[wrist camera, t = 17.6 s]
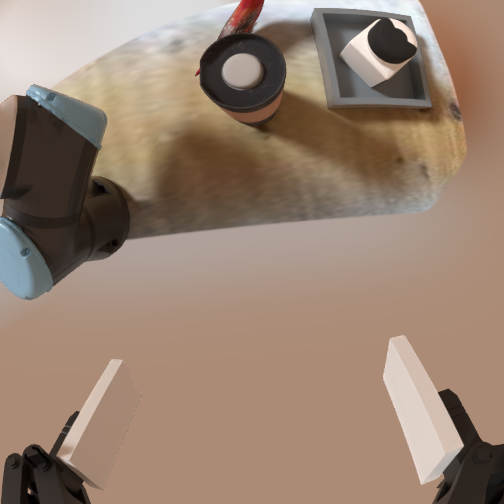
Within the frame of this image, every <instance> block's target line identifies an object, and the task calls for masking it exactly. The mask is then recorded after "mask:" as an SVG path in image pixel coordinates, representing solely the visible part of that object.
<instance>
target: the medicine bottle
mask: <svg viewBox="0 0 504 504" xmlns="http://www.w3.org/2000/svg"><path fill="white" fill-rule="evenodd" d="M416 52H417V41H416V38H415V36H414V34H413V32H412V31H411V30H410V29H409V28H408V27H407V26H406V25H405V24H403V23H402V22H400V21H398V20H395V19H391V18H384V19H378V20H376V21H375V22H374V23H372V24H371V25H370V26H369V27H367V28H366V29H365V30H363V31H362V32H361V33H360V34H358V35H357V36H356V37H355V38H353V39H352V40H351V41H350V42H349V43H348V44H347V46H346V47H345V48H344V49H343V51H342V52H341V53H340V54H339V57H340V58H341V59H342V60H343V61H344V62H345V63H346V64H347V65H348V66H349V67H350V68H351V69H352V70H353V71H354V72H355V73H356V74H357V75H358V76H359V77H360V78H361V79H362V80H363V81H364V82H365V83H366V84H367V85H368V86H369V87H370V88H373V87H375V86H377V85H379V84H381V83H383V82H385V81H387V80H388V79H390V78H391V77H392V76H393V75H394V74H395V73H396V72H397V71H398V70H400V69H401V68H402V67H403V66H404V65H405V64H406V63H407V62H408V61H409V60H411V59H412V58H413V57H414V56H415V54H416Z"/></svg>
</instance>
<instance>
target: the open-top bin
mask: <svg viewBox="0 0 504 504" xmlns="http://www.w3.org/2000/svg"><path fill="white" fill-rule="evenodd" d="M384 18H391V19H395V20H398V21H400V22H402V23H403V24H405V25H406V26H407V27H408V28H409V29H410V30H411V31H412V32H413V34H414V36H415V38H416V41H417V52H416V54H415V56H414V57H413V58H412V59H411V60H409V61H408V62H407V63H406V64H405V65H404V66H403V67H402V68H401V69H400V70H398V71H397V72H396V73H395V74H394V75H393V76H392V77H391V78H390V79H388V80H387V81H385V82H383V83H381V84H379V85H377V86H375V87H373V88H370V87H369V86H368V85H367V84H366V83H365V82H364V81H363V80H362V79H361V78H360V77H359V76H358V75H357V74H356V73H355V72H354V71H353V70H352V69H351V68H350V67H349V66H348V65H347V64H346V63H345V62H344V61H343V60H342V59H341V58H340V57H339V54H340V53H341V52H342V51H343V49H344V48H345V47H346V46H347V44H348V43H349V42H350V41H351V40H352V39H353V38H355V37H356V36H357V35H358V34H360V33H361V32H362V31H363V30H365V29H366V28H367V27H369V26H370V25H371V24H372V23H374V22H375V21H376V20H378V19H384ZM310 20H311V25H312V29H313V33H314V37H315V42H316V46H317V51H318V56H319V60H320V65H321V71H322V76H323V81H324V87H325V93H326V99H327V105H328V109H339V108H403V109H423V108H428V107H432V104H431V98H430V92H429V87H428V81H427V76H426V72H425V67H424V63H423V58H422V54H421V50H420V46H419V43H418V39H417V35H416V32H415V29H414V25H413V22H412V19H411V16H406V15H400V14H394V13H386V12H378V11H369V10H357V9H339V8H314V10H313V13H312V16H311V19H310Z"/></svg>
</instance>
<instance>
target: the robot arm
mask: <svg viewBox="0 0 504 504" xmlns="http://www.w3.org/2000/svg"><path fill="white" fill-rule="evenodd" d="M106 126H107V117H106V114H105V113H104V112H103V111H102V110H101V109H99V108H97V107H94V106H92V105H90V104H87V103H85V102H82V101H80V100H77V99H75V98H72V97H69V96H67V95H64V94H61V93H59V92H56V91H53V90H50V89H47V88H44V87H41V86H37V85H31V86H30V88H29V90H27V92H26V96H19V95H11V96H10V97H9V98H7V99H6V100H5V101H4V102H2V103H1V104H0V199H4V205H3V213H2V216H0V280H1V282H2V283H3V284H4V286H5V287H6V288H7V289H8V290H9V291H11V292H12V293H13V294H14V295H16V296H17V297H19V298H22V299H25V300H32V299H35V298H38V297H39V296H40V295H42V294H43V293H45V292H49V291H50V290H51V288H52V287H53V286H55V285H56V284H57V283H58V282H59V281H61V280H62V279H63V278H64V277H66V276H67V275H68V274H70V273H71V272H72V271H74V270H75V269H76V268H77V267H79V266H80V265H81V264H83V263H84V262H87V261H95V260H101V259H104V258H107V257H109V256H111V255H112V254H113V253H114V252H116V251H117V250H118V249H119V248H120V247H121V246H122V245H123V243H124V242H125V240H126V237H127V234H128V230H129V212H128V207H127V204H126V201H125V199H124V197H123V195H122V194H121V192H120V191H119V189H118V188H117V187H116V186H115V185H114V184H113V183H112V182H110V181H109V180H107V179H105V178H103V177H99V176H91V175H92V172H93V168H94V165H95V162H96V158H97V155H98V152H99V150H101V148H102V146H101V142H102V139H103V136H104V133H105V129H106ZM383 379H384V382H385V384H386V387H387V390H388V392H389V394H390V397H391V399H392V402H393V405H394V407H395V410H396V413H397V415H398V418H399V421H400V423H401V426H402V429H403V432H404V434H405V437H406V440H407V443H408V446H409V449H410V451H411V454H412V457H413V460H414V463H415V466H416V470H417V473H418V476H419V479H420V482H421V484H424V483H427V482H429V481H432V480H435V479H437V478H438V477H439V476H440V475H441V474H442V473H443V474H444V477H445V478H444V480H443V481H442V482H441V483H440V484H439V485H438V487H437V488H440V489H439V491H438V493H437V496H436V497H435V500H434V501H433V503H432V504H504V444H501V445H493V446H492V445H491V444H489V443H487V442H483V441H482V440H481V439H480V437H479V435H478V433H477V431H476V429H475V427H474V425H473V424H472V422H471V420H470V418H469V416H468V414H467V413H466V411H465V409H464V407H463V406H462V403H461V402H460V400H459V398H458V396H457V395H456V394H455V393H453V392H452V391H451V390H450V389H446V390H443V391H440V392H437V391H436V389H435V387H434V385H433V384H432V382H431V380H430V378H429V376H428V374H427V373H426V371H425V369H424V367H423V366H422V364H421V362H420V360H419V359H418V357H417V355H416V353H415V352H414V350H413V349H412V347H411V345H410V343H409V342H408V340H407V338H406V337H405V335H402V336H398V337H393V338H390V342H389V348H388V354H387V359H386V365H385V370H384V375H383ZM141 396H142V394H141V393H140V391H139V389H138V387H137V385H136V383H135V382H134V380H133V378H132V376H131V374H130V372H129V370H128V368H127V367H126V364H125V363H124V360H116V359H115V360H114V359H112V360H111V361H110V363H109V364H108V366H107V368H106V369H105V371H104V373H103V374H102V376H101V378H100V379H99V381H98V383H97V384H96V386H95V387H94V389H93V391H92V393H91V394H90V396H89V398H88V399H87V401H86V403H85V405H84V406H83V408H82V410H81V411H80V412H78V411H76V412H75V413H74V414H73V415H72V416H71V417H70V418H69V419H68V421H67V423H66V425H65V427H64V428H63V430H62V433H60V435H59V437H58V439H57V441H56V442H55V444H54V446H53V448H52V450H51V452H50V453H49V455H48V454H47V453H46V452H45V451H44V450H43V449H42V448H41V447H40V446H39V445H36V444H33V445H30V446H28V447H27V448H26V449H25V450H24V452H23V455H22V456H21V455H19V454H17V453H13V454H11V455H9V456H8V458H7V459H6V462H5V467H4V476H3V484H2V497H1V504H91V503H90V501H89V498H88V495H87V493H86V490H85V488H84V486H83V485H82V483H83V481H85V482H86V483H87V484H88V485H90V486H91V487H94V488H97V489H100V490H104V487H105V485H106V482H107V480H108V477H109V474H110V472H111V469H112V467H113V464H114V462H115V459H116V457H117V454H118V452H119V449H120V446H121V444H122V442H123V439H124V437H125V434H126V432H127V429H128V427H129V424H130V422H131V420H132V418H133V415H134V413H135V411H136V408H137V406H138V404H139V401H140V399H141ZM28 488H29V489H30V490H31V494H29V493H27V492H28Z"/></svg>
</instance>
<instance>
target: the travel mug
mask: <svg viewBox="0 0 504 504" xmlns="http://www.w3.org/2000/svg"><path fill="white" fill-rule="evenodd" d="M285 78H286V63H285V59H284V57H283V55H282V53H281V51H280V50H279V48H278V47H277V46H276V45H275V44H274V43H273V42H271V41H270V40H268V39H267V38H265V37H263V36H260V35H257V34H253V33H235V34H230V35H227V36H224V37H222V38H220V39H219V40H217V41H215V42H214V43H213V44H212V45H211V46H210V47H209V48H208V49H207V50H206V51H205V52H204V54H203V55H202V57H201V59H200V86H201V88H202V90H203V91H204V92H205V94H206V95H207V96H208V97H209V98H210V99H211V100H212V101H213V102H214V103H216V104H217V105H218V106H219V107H220V108H221V109H222V110H224V111H225V112H226V113H227V114H228V115H229V116H231V117H232V118H234V119H235V120H237V121H239V122H241V123H243V124H246V125H250V126H258V125H262V124H264V123H266V122H268V121H269V120H270V119H272V117H273V116H274V115H275V113H276V111H277V109H278V107H279V105H280V102H281V99H282V94H283V88H284V83H285Z"/></svg>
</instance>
